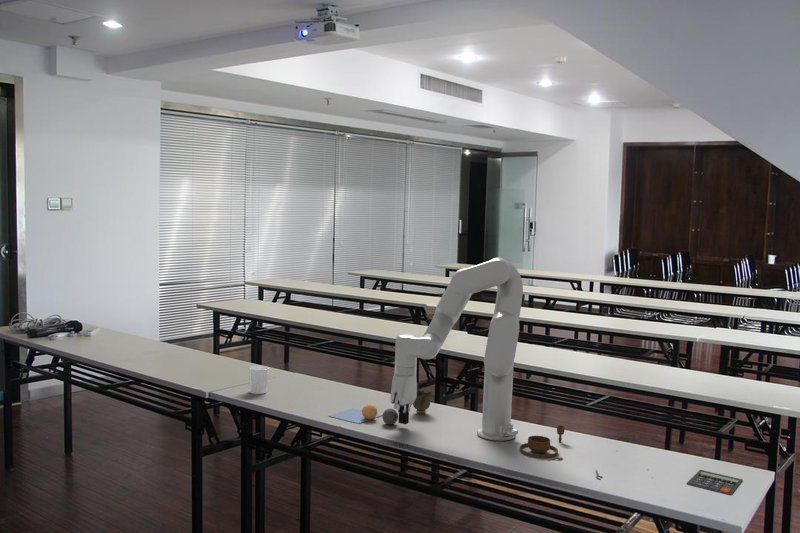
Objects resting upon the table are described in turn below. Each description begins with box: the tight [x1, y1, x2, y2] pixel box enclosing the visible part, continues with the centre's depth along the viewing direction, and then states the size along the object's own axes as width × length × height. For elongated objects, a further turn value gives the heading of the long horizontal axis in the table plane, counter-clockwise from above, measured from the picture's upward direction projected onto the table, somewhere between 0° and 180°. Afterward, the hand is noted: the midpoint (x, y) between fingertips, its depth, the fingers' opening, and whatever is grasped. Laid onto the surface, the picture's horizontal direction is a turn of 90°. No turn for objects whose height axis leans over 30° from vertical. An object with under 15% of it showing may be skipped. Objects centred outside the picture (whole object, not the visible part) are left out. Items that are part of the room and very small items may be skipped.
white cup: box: [248, 365, 270, 395], centre depth 280 cm, size 8×8×10 cm
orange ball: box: [361, 403, 378, 421], centre depth 247 cm, size 6×6×6 cm
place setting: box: [519, 424, 565, 462], centre depth 219 cm, size 18×20×6 cm
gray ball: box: [381, 408, 399, 426], centre depth 242 cm, size 6×6×6 cm
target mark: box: [328, 407, 383, 425], centre depth 251 cm, size 14×14×1 cm
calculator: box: [686, 469, 743, 496], centre depth 197 cm, size 12×1×15 cm
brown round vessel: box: [412, 389, 433, 415], centre depth 257 cm, size 8×7×8 cm
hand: (403, 423), depth 239 cm, fingers closed
